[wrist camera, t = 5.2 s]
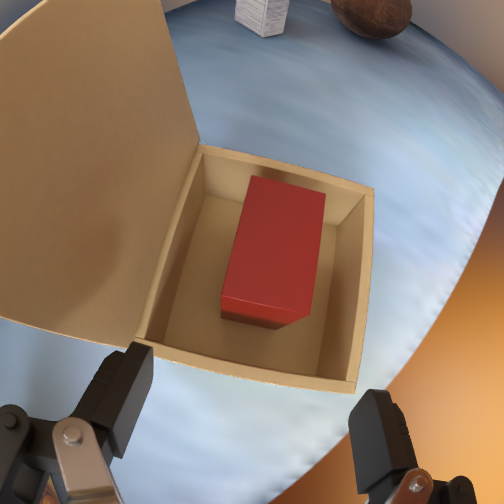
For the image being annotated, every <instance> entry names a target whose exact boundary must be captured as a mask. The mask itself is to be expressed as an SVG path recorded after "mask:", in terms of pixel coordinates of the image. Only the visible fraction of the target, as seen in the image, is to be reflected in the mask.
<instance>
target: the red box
mask: <svg viewBox="0 0 504 504" xmlns="http://www.w3.org/2000/svg"><path fill="white" fill-rule="evenodd" d="M325 199H326V194H325V193H322V192H318V191H314V190H311V189H307V188H303V187H299V186H296V185H292V184H288V183H284V182H280V181H276V180H272V179H268V178H263V177H259V176H255V175H251V177H250V181H249V185H248V189H247V193H246V197H245V201H244V204H243V208H242V212H241V216H240V220H239V224H238V228H237V232H236V236H235V240H234V244H233V248H232V252H231V256H230V260H229V264H228V268H227V272H226V276H225V280H224V285H223V289H222V293H221V316H220V317H221V318H222V319H226V320H231V321H235V322H239V323H244V324H248V325H253V326H258V327H262V328H267V329H272V330H278V329H280V328H282V327H284V326H287V325H289V324H291V323H293V322H295V321H298V320H300V319H302V318H304V317H306V316H308V315H310V311H311V304H312V298H313V292H314V285H315V279H316V272H317V265H318V258H319V250H320V242H321V234H322V226H323V217H324V208H325Z"/></svg>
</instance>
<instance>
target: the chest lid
mask: <svg viewBox="0 0 504 504" xmlns="http://www.w3.org/2000/svg"><path fill="white" fill-rule="evenodd" d="M199 141H200V137H199V133H198V130H197V127H196V123H195V120H194V117H193V113H192V110H191V107H190V103H189V100H188V96H187V93H186V90H185V86H184V83H183V79H182V76H181V72H180V69H179V66H178V62H177V59H176V55H175V52H174V48H173V45H172V41H171V38H170V34H169V31H168V27H167V23H166V20H165V16H164V13H163V9H162V5H161V2H160V0H43V1H42V2H40V3H39V4H38V5H36V6H35V7H34V8H32V9H31V10H30V11H28V12H27V13H26V14H25V15H23V16H22V17H21V18H20V19H18V20H17V21H16V22H15V23H14V24H12V25H11V26H10V27H9V28H8V29H7V30H6V31H4V32H3V33H2V34H1V35H0V318H3V319H6V320H9V321H12V322H16V323H19V324H22V325H26V326H29V327H32V328H36V329H40V330H43V331H47V332H51V333H55V334H59V335H63V336H67V337H71V338H75V339H80V340H84V341H89V342H93V343H98V344H103V345H108V346H113V347H119V348H124V349H128V347H129V345H130V343H131V342H132V341H134V337H135V333H136V329H137V326H138V322H139V318H140V314H141V310H142V307H143V303H144V300H145V296H146V293H147V289H148V286H149V282H150V279H151V275H152V272H153V269H154V266H155V262H156V259H157V256H158V253H159V250H160V247H161V244H162V241H163V238H164V235H165V232H166V229H167V226H168V223H169V220H170V217H171V214H172V211H173V208H174V206H175V203H176V200H177V197H178V195H179V192H180V189H181V187H182V184H183V181H184V179H185V176H186V174H187V171H188V168H189V166H190V163H191V161H192V158H193V156H194V153H195V151H196V148H197V146H198V144H199Z"/></svg>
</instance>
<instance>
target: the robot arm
mask: <svg viewBox="0 0 504 504" xmlns="http://www.w3.org/2000/svg"><path fill="white" fill-rule="evenodd" d="M152 380H153V347H151V346H148V345H145V344H142V343H139V342H135V341H132V342H131V343H130V345H129V347H128V349H127V350H126V352H125V353H123V352H120V351H117V350H116V351H114V352H113V353H111V354H110V355H108V356H107V357H106V358H105V359H104V360H103V362H102V364H101V365H100V367H99V369H98V371H97V372H96V374H95V375H94V377H93V380H91V382H90V384H89V385H88V387H87V389H86V391H85V392H84V394H83V396H82V398H81V399H80V401H79V403H78V405H77V406H76V408H75V410H74V411H73V413H72V414H71V415H70V416H68V417H66V418H63V419H61V420H59V421H48V420H42V419H37V418H32V417H28V415H27V413H26V412H25V411H24V410H23V409H22V408H21V407H19V406H17V405H12V404H8V405H4V406H2V407H0V504H40V501H41V498H42V496H43V493H44V490H45V487H46V485H47V482H48V479H49V477H50V474H51V473H54V474H60V475H62V478H63V481H64V485H65V488H66V491H67V494H68V499H67V504H125V502H124V500H123V498H122V496H121V494H120V491H119V489H118V487H117V484H116V482H115V480H114V477H113V475H112V472H111V470H110V464H111V461H112V459H113V456H115V457H117V458H120V459H122V458H123V455H124V453H125V450H126V447H127V445H128V442H129V440H130V437H131V435H132V432H133V429H134V427H135V424H136V422H137V419H138V417H139V414H140V412H141V409H142V407H143V405H144V402H145V400H146V397H147V395H148V392H149V390H150V387H151V384H152ZM348 426H349V433H350V439H351V446H352V453H353V460H354V466H355V474H356V483H357V491H358V494H369V498H368V499H367V500H366V501H365V503H364V504H477V501H476V496H475V492H474V488H473V484H472V482H471V481H470V480H469V479H468V478H467V477H465V476H457V477H455V478H454V479H452V480H451V481H449V482H446V481H439V480H433V479H432V477H431V476H430V474H429V473H428V472H427V471H425V470H423V469H420V468H419V467H418V464H417V460H416V456H415V453H414V449H413V445H412V442H411V439H410V435H409V431H408V428H407V426H406V421H405V418H404V415H403V413H402V411H401V410H400V408H399V407H398V406H397V404H396V403H392V400H391V396H390V394H389V392H388V391H387V390H378V389H368V390H367V391H366V392H365V394H364V395H363V396H362V398H361V399H360V400H359V402H358V403H357V404H356V406H355V407H354V408H353V410H352V411H351V413H350V416H349V420H348Z"/></svg>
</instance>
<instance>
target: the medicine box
mask: <svg viewBox="0 0 504 504" xmlns="http://www.w3.org/2000/svg"><path fill="white" fill-rule="evenodd" d="M288 5H289V0H236V9H235V20H236V21H237V22H239V23H241V24H242V25H244V26H245V27H247V28H249V29H250V30H252V31H253V32H255V33H256V34H258V35H259V36H261V37H268V36H272V35H277V34H282V33H283V30H284V25H285V20H286V15H287V10H288Z"/></svg>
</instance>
